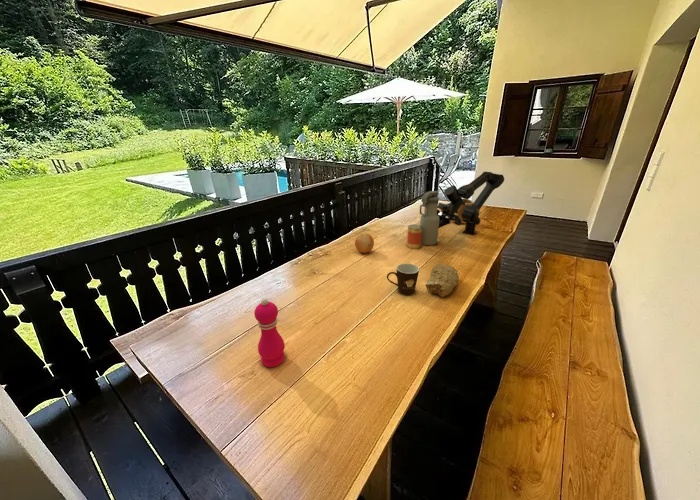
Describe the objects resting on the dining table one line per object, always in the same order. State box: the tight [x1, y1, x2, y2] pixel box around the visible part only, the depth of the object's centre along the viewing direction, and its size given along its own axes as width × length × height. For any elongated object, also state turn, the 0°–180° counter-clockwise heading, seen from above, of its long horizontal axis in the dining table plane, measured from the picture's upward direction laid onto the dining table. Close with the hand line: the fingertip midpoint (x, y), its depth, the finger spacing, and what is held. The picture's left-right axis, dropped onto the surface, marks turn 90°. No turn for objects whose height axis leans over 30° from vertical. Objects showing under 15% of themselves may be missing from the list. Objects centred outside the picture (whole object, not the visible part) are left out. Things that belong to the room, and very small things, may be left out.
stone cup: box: [451, 198, 474, 224], centre depth 196 cm, size 15×12×15 cm
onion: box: [354, 232, 375, 254], centre depth 152 cm, size 10×10×10 cm
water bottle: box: [419, 190, 440, 246], centre depth 159 cm, size 10×10×28 cm
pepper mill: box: [253, 297, 286, 368], centre depth 81 cm, size 7×7×20 cm
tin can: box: [406, 223, 422, 250], centre depth 159 cm, size 7×7×11 cm
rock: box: [425, 263, 460, 298], centre depth 121 cm, size 13×8×20 cm
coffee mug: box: [386, 263, 420, 296], centre depth 117 cm, size 12×9×10 cm
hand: (436, 228), depth 164 cm, fingers closed, pressing on water bottle
